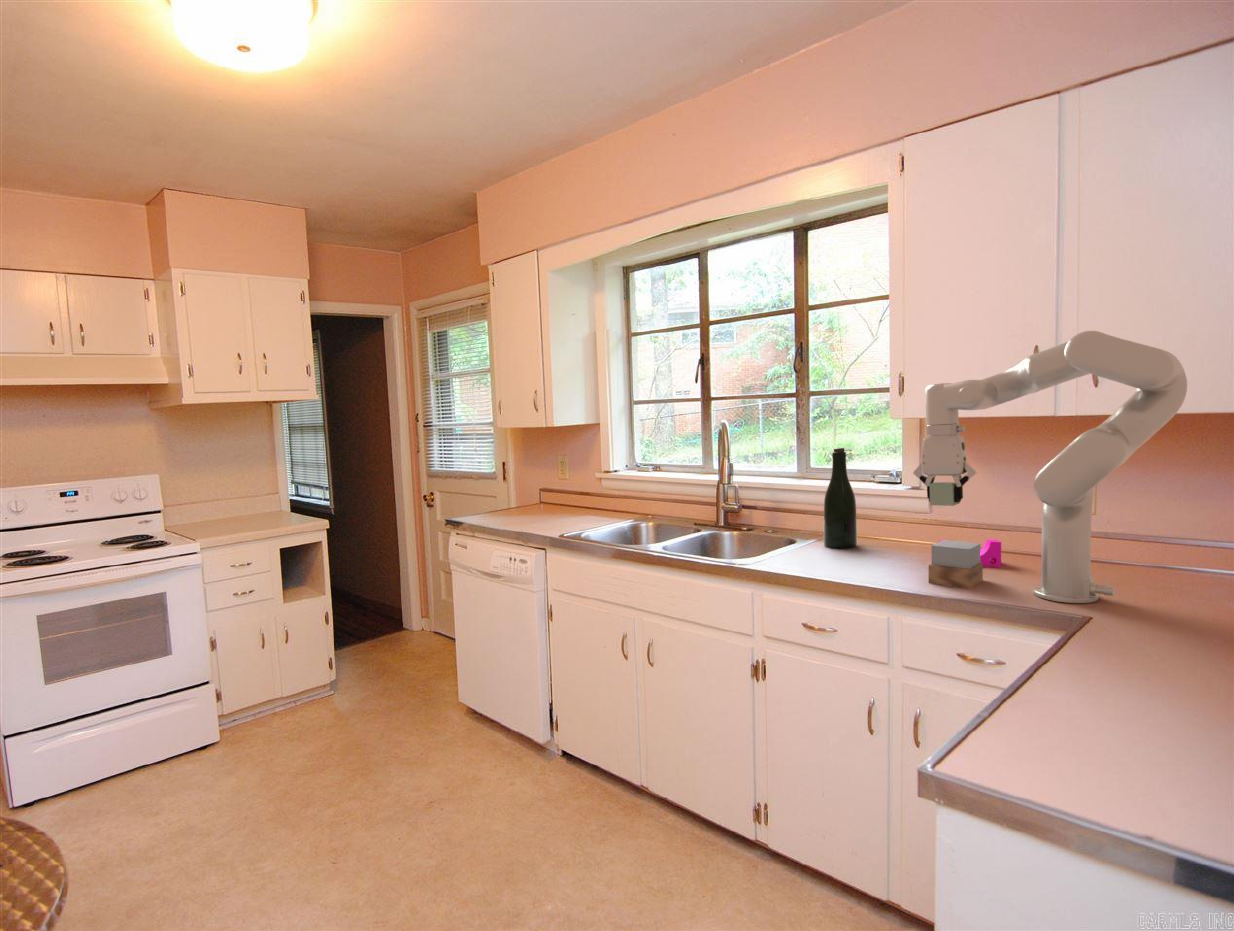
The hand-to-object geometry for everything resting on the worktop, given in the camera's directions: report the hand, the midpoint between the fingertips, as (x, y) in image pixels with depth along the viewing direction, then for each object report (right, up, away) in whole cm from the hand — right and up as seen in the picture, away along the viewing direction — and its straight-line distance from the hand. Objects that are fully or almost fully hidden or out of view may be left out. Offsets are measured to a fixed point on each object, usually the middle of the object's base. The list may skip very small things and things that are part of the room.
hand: (945, 500), depth 172 cm
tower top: (+3, -16, 0) cm, 16 cm away
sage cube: (0, -1, 0) cm, 1 cm away
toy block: (+15, -20, +17) cm, 30 cm away
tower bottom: (+3, -21, 0) cm, 21 cm away
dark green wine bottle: (-11, -18, +48) cm, 52 cm away
